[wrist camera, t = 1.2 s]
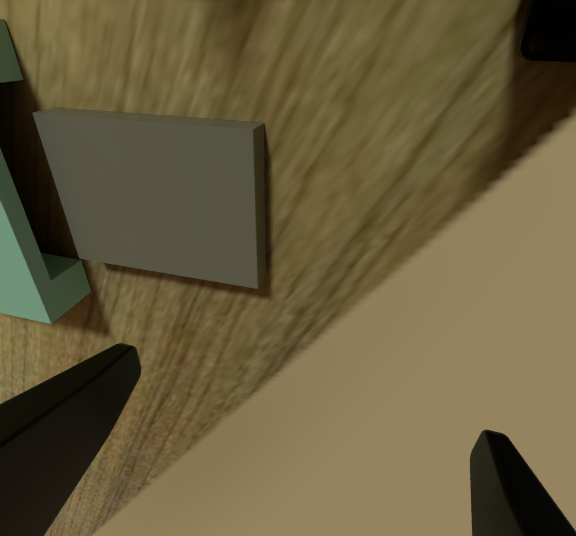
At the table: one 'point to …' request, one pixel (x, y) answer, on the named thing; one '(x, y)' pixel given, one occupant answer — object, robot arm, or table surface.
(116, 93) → the table surface
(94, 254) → the thin grey plate
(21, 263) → the overhang
